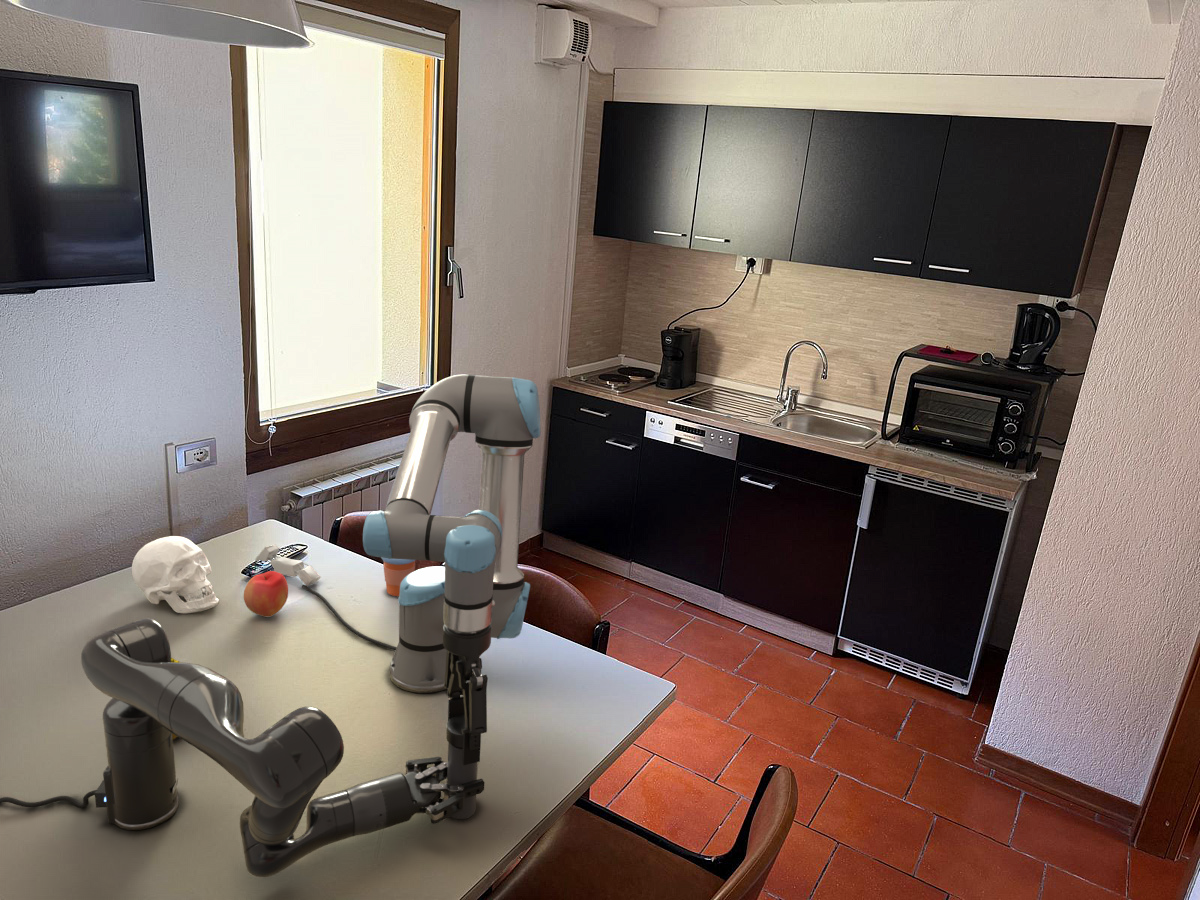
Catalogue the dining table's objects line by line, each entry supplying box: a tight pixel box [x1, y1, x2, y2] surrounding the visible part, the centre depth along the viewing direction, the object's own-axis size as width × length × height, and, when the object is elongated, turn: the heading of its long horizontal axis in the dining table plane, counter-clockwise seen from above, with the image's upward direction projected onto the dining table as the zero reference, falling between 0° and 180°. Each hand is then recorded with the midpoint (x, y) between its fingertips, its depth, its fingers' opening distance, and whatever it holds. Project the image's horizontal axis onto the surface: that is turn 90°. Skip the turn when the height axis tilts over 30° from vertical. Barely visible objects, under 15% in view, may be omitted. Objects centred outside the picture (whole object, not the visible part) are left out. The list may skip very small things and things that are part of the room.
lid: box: [445, 715, 466, 748], centre depth 140 cm, size 6×6×2 cm
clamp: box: [254, 544, 322, 587], centre depth 219 cm, size 20×4×7 cm, turn 62°
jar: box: [446, 742, 479, 820], centre depth 142 cm, size 5×5×16 cm
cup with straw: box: [381, 558, 416, 597], centre depth 214 cm, size 9×9×18 cm
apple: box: [243, 570, 289, 618], centre depth 199 cm, size 10×10×10 cm
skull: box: [131, 535, 220, 615], centre depth 201 cm, size 13×22×16 cm, turn 73°
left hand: (476, 774), depth 144 cm, fingers closed on jar, 5 cm apart
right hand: (463, 746), depth 141 cm, fingers open, 7 cm apart
